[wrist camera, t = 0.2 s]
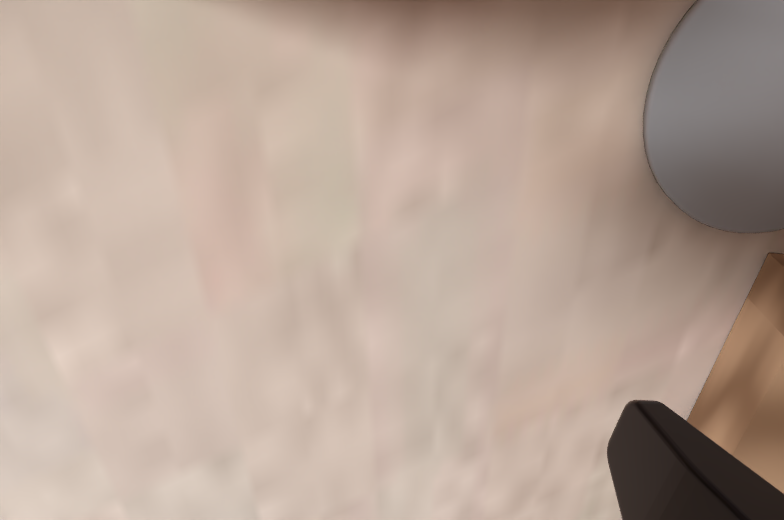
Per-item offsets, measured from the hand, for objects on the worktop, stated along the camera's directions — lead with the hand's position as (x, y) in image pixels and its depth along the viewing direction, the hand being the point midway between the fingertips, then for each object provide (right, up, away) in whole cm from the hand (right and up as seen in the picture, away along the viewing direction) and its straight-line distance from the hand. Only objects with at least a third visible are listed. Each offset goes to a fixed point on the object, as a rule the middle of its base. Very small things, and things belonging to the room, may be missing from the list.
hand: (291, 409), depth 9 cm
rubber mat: (+14, +7, +15) cm, 22 cm away
